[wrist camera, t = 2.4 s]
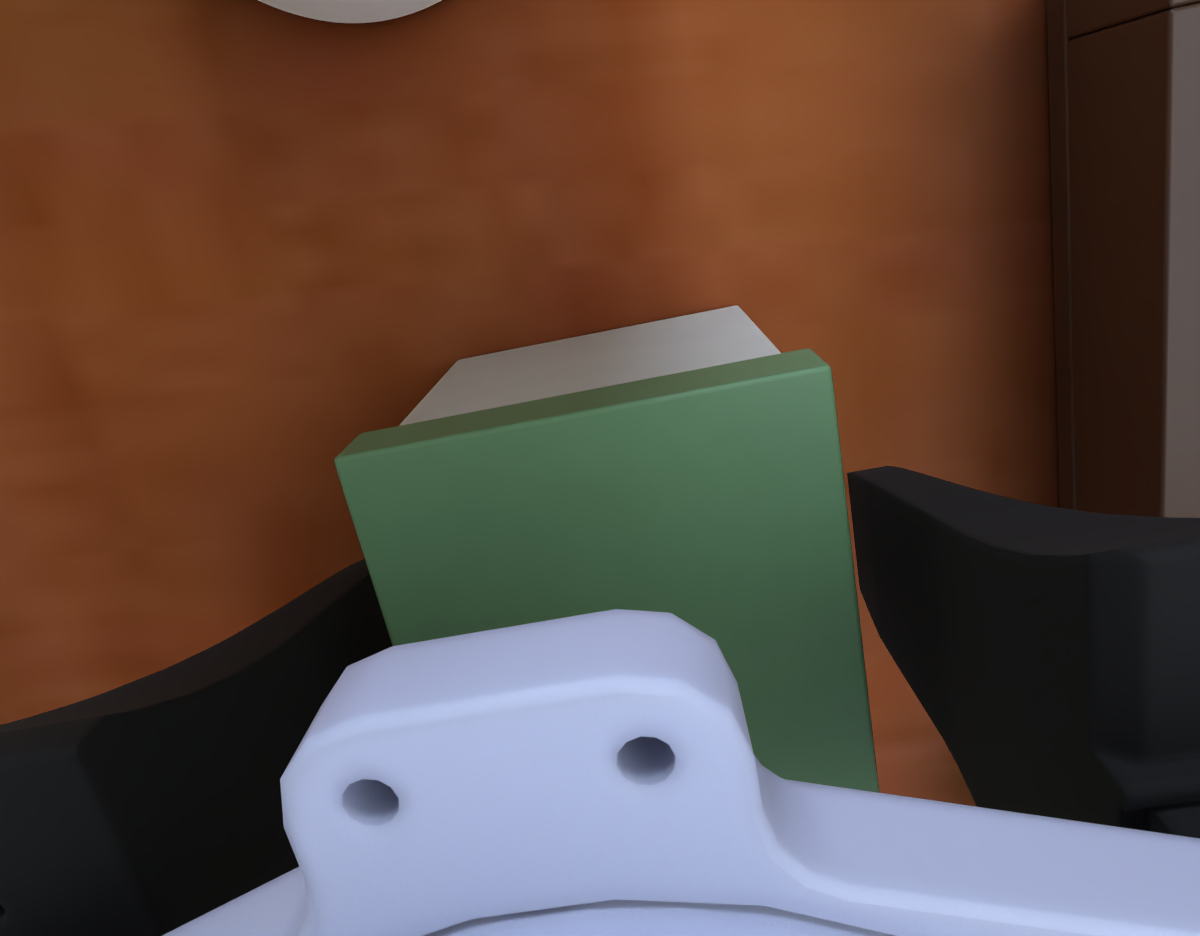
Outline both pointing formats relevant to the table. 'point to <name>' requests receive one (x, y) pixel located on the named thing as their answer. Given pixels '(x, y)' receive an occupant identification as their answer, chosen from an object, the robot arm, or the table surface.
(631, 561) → the container
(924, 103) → the table surface
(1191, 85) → the tray
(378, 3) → the can
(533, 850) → the robot arm
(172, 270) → the table surface
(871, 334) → the table surface
